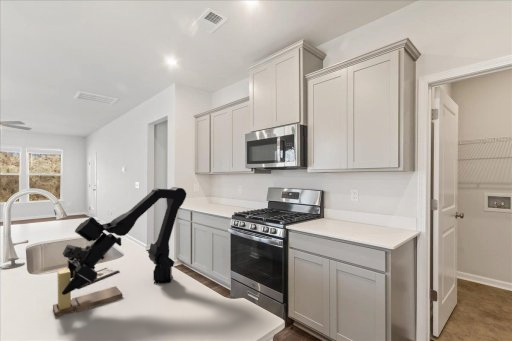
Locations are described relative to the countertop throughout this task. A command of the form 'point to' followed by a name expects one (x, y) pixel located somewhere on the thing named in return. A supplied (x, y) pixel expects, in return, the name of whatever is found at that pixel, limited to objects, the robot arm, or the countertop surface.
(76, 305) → the brown buckle strap
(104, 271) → the chocolate bar
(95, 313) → the countertop surface
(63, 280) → the stub
